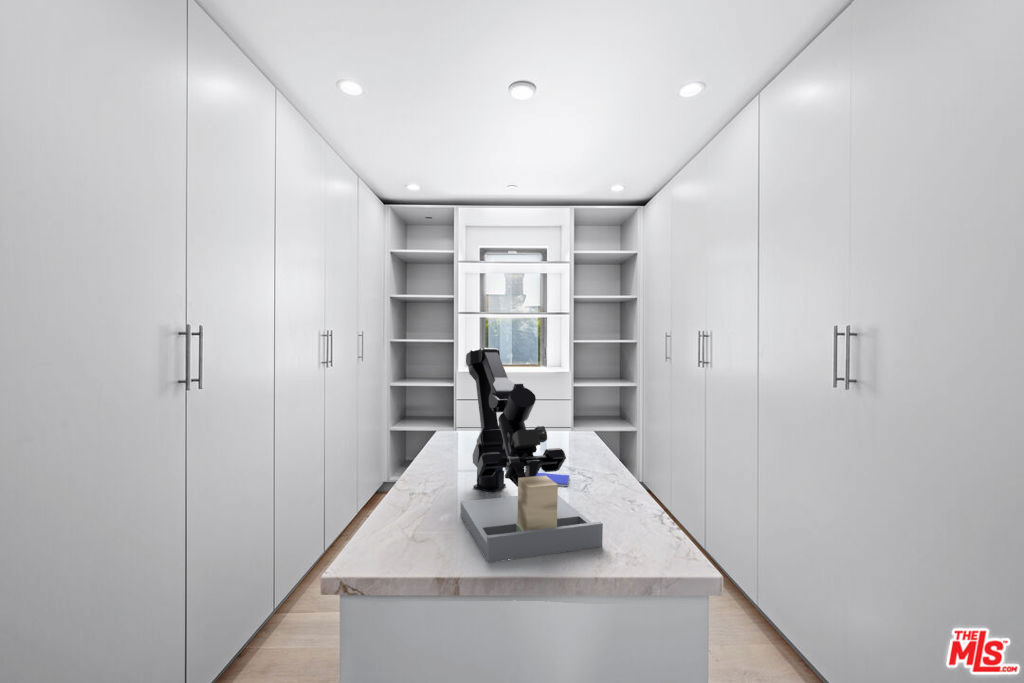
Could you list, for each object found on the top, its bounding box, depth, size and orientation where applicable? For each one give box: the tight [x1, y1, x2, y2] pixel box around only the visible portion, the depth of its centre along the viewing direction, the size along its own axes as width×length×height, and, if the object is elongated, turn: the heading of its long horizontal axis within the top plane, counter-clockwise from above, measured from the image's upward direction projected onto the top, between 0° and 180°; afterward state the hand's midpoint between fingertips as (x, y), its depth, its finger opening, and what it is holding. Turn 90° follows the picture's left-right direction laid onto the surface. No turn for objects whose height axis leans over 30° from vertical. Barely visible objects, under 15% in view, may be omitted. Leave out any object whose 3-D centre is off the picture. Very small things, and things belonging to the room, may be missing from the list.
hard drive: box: [536, 472, 570, 487], centre depth 131 cm, size 2×8×12 cm
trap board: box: [460, 495, 604, 564], centre depth 97 cm, size 23×23×4 cm
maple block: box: [517, 475, 559, 531], centre depth 92 cm, size 6×6×9 cm
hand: (531, 499), depth 95 cm, fingers closed
